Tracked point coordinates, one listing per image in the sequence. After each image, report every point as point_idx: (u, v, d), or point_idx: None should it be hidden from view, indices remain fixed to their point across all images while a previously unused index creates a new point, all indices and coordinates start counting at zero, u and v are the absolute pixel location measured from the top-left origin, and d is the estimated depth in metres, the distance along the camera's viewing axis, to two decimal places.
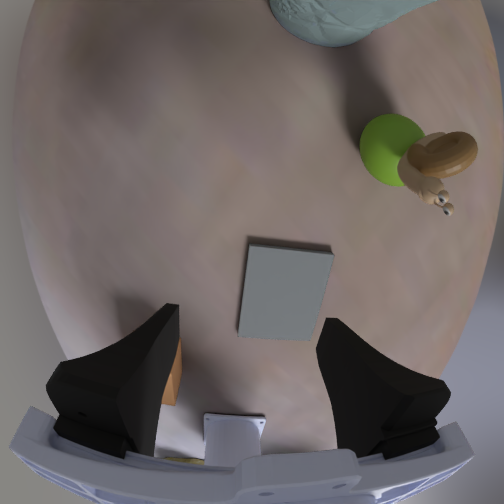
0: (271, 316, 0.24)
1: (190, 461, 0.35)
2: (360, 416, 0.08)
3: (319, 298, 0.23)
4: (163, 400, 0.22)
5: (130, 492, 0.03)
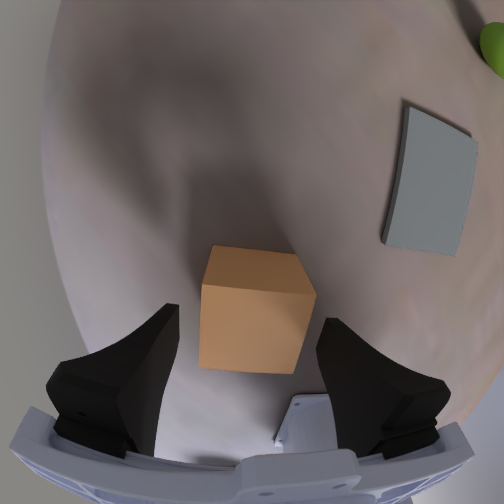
0: (426, 212, 0.15)
1: None
2: (360, 416, 0.08)
3: (468, 194, 0.14)
4: (275, 365, 0.13)
5: (130, 492, 0.03)
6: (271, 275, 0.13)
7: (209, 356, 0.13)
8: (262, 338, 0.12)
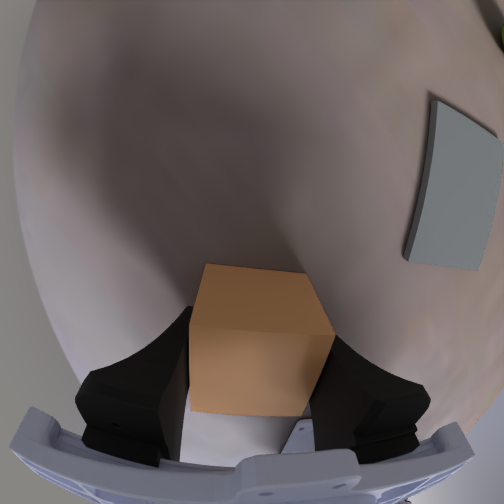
0: (453, 223, 0.12)
1: None
2: (335, 420, 0.08)
3: (494, 202, 0.12)
4: (280, 408, 0.10)
5: (130, 492, 0.03)
6: (278, 308, 0.10)
7: (202, 400, 0.10)
8: (266, 383, 0.10)
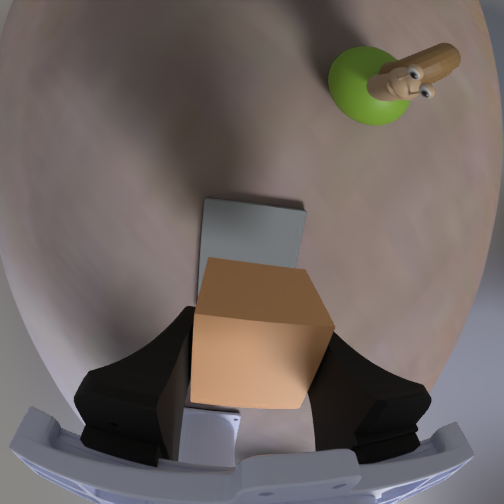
0: None
1: None
2: (336, 419, 0.08)
3: (291, 266, 0.20)
4: (279, 400, 0.11)
5: (130, 492, 0.03)
6: (280, 300, 0.11)
7: (203, 391, 0.10)
8: (266, 374, 0.10)
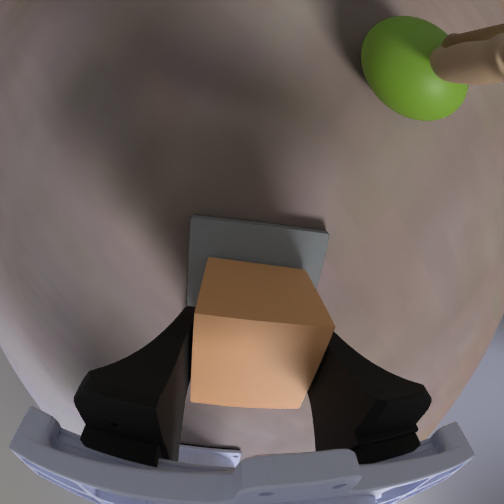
0: None
1: None
2: (336, 419, 0.08)
3: None
4: (279, 400, 0.11)
5: (130, 492, 0.03)
6: (280, 299, 0.11)
7: (203, 391, 0.10)
8: (266, 374, 0.10)
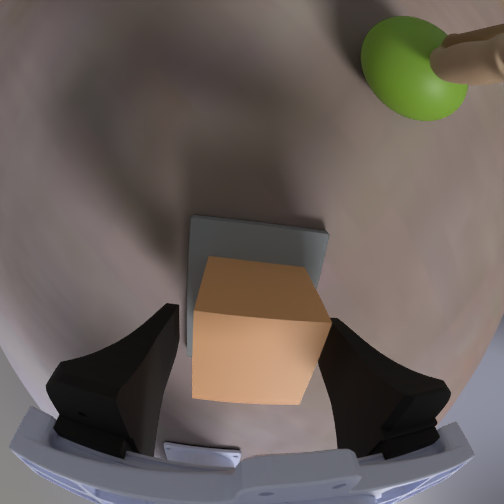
0: None
1: None
2: (360, 416, 0.08)
3: None
4: (279, 396, 0.11)
5: (130, 492, 0.03)
6: (278, 297, 0.11)
7: (204, 387, 0.11)
8: (265, 370, 0.10)
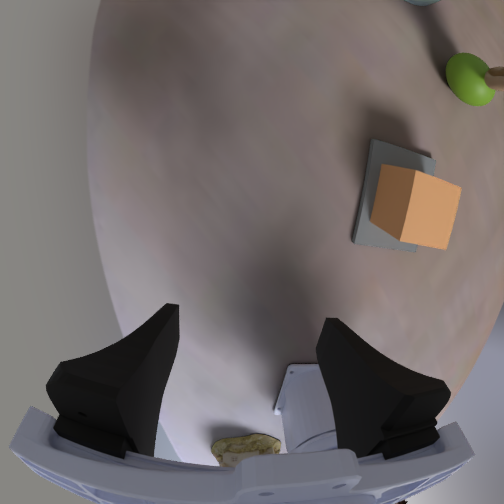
0: None
1: (250, 438, 0.32)
2: (360, 416, 0.08)
3: None
4: (439, 240, 0.17)
5: (130, 492, 0.03)
6: None
7: (408, 229, 0.16)
8: (437, 215, 0.16)
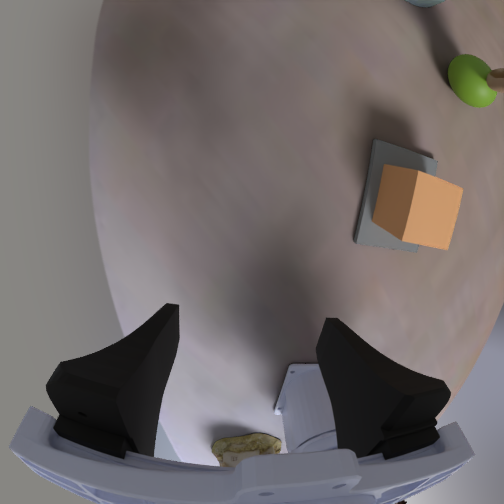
0: None
1: (250, 437, 0.32)
2: (360, 416, 0.08)
3: None
4: (441, 240, 0.17)
5: (130, 492, 0.03)
6: None
7: (411, 229, 0.16)
8: (439, 215, 0.16)
